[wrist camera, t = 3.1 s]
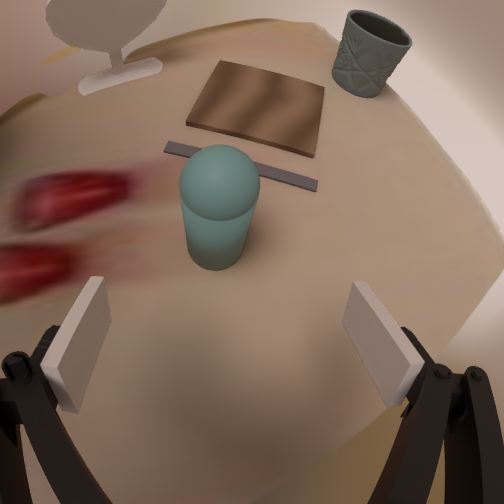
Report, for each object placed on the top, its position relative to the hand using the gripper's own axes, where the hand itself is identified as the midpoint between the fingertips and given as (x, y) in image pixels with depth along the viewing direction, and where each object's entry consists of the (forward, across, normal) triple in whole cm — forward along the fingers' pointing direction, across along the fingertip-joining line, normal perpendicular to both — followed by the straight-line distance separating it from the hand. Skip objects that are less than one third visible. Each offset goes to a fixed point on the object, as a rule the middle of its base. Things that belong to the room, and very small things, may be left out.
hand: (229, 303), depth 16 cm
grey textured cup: (+37, +21, +17) cm, 45 cm away
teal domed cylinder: (+16, -1, -4) cm, 16 cm away
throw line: (+22, +2, +3) cm, 23 cm away
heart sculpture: (+35, -16, +16) cm, 41 cm away
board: (+30, +5, +11) cm, 32 cm away
